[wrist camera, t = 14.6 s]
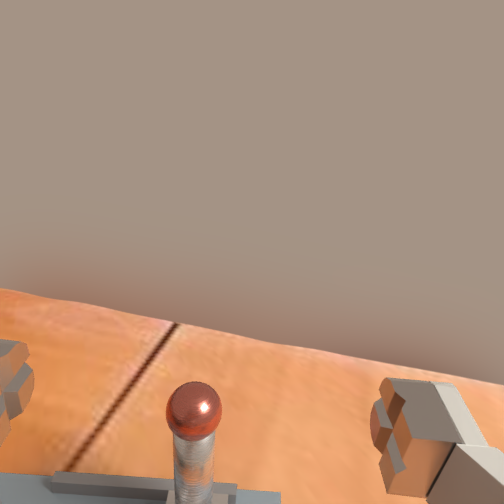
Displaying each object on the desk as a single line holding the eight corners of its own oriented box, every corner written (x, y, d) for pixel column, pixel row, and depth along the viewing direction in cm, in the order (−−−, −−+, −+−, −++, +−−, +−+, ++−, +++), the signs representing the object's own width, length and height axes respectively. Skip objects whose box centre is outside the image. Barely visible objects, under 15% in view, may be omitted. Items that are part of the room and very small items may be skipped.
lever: (215, 648, 26) (224, 494, 19) (117, 641, 26) (89, 485, 19) (227, 509, 34) (236, 365, 27) (152, 503, 34) (141, 358, 27)
